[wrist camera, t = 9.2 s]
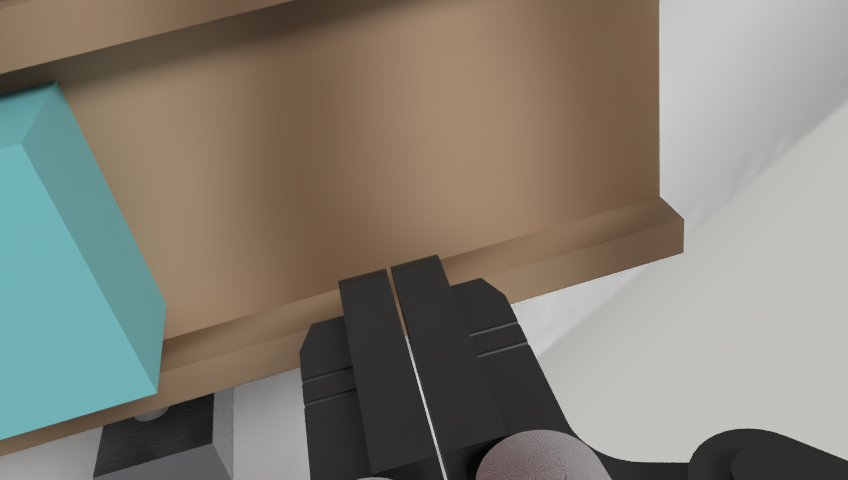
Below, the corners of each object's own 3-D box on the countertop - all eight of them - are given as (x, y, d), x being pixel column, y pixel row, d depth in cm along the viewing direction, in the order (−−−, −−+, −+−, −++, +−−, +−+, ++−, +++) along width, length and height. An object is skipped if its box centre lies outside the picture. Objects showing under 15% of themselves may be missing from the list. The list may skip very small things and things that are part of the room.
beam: (627, -247, 14) (692, -251, 13) (639, 247, 21) (682, 296, 19) (-991, 125, 12) (-1233, 193, 10) (-399, 554, 19) (-473, 647, 17)
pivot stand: (96, -304, 16) (12, -353, 10) (311, 313, 26) (335, 479, 20) (-279, -225, 16) (-616, -227, 9) (87, 377, 26) (40, 568, 19)
